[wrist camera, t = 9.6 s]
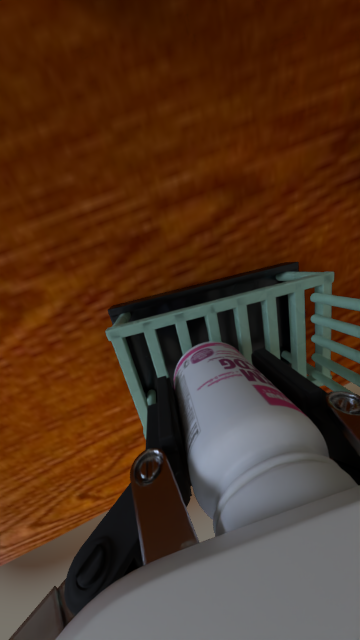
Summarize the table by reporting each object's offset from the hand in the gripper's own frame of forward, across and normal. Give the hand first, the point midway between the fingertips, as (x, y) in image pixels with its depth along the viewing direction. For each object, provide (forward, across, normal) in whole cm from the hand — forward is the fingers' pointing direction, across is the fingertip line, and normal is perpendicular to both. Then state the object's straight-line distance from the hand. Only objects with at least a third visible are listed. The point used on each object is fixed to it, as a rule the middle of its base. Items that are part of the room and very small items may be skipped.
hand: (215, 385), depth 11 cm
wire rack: (+7, -2, 0) cm, 8 cm away
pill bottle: (+2, 0, 0) cm, 2 cm away
